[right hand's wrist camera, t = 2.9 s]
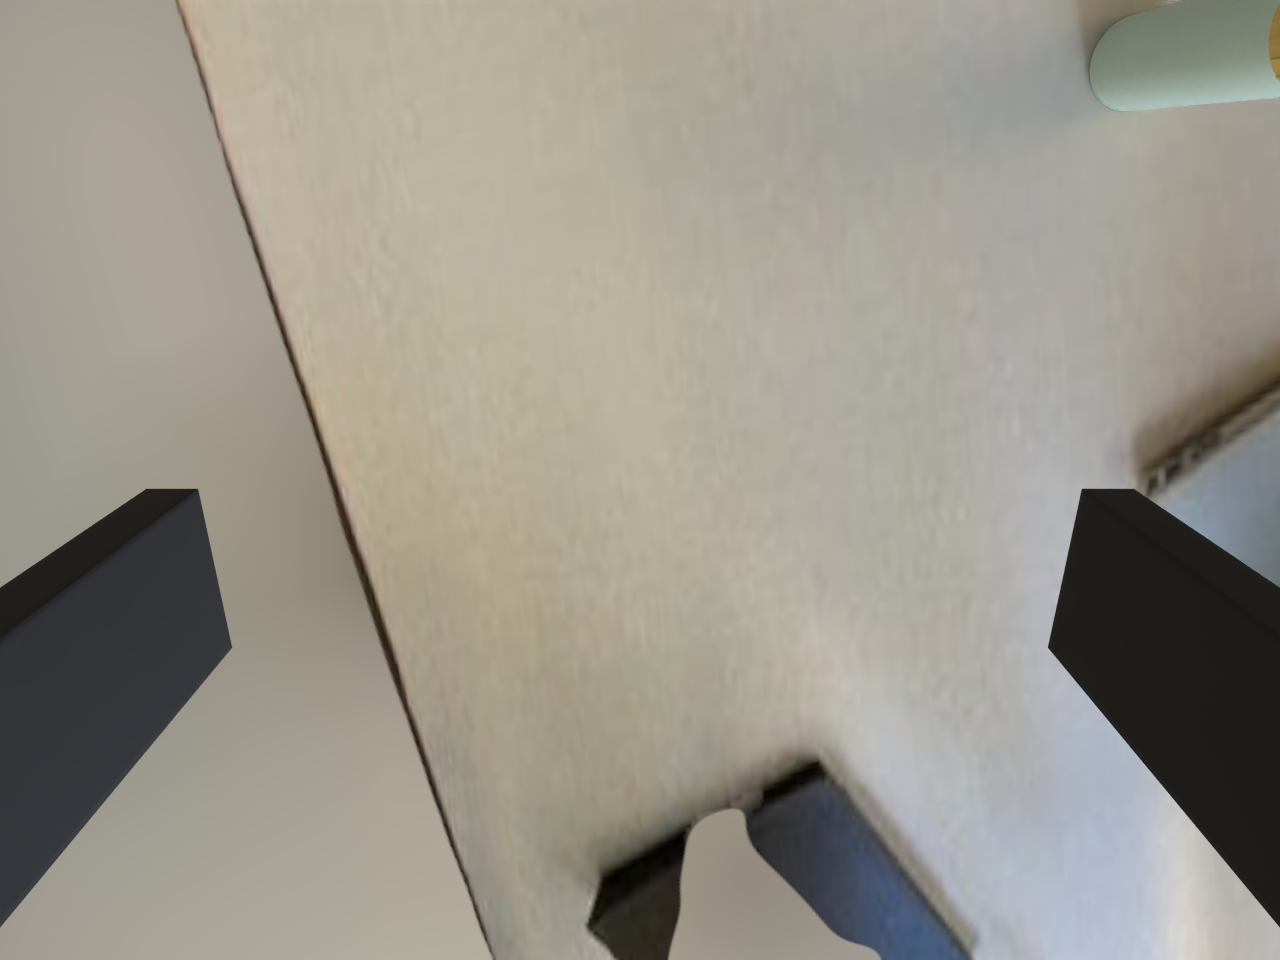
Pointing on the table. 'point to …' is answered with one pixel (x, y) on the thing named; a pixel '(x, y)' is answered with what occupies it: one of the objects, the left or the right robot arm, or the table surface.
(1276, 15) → the lid
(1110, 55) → the jar
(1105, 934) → the table surface
